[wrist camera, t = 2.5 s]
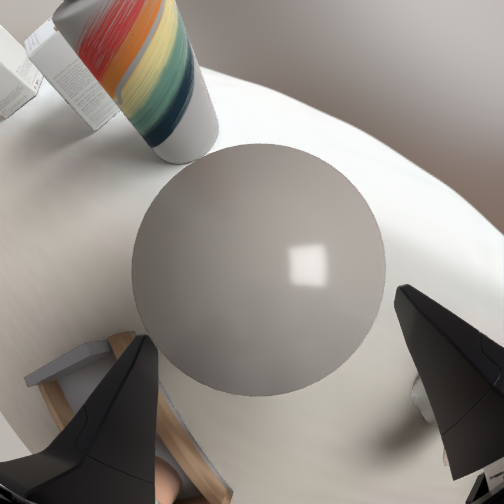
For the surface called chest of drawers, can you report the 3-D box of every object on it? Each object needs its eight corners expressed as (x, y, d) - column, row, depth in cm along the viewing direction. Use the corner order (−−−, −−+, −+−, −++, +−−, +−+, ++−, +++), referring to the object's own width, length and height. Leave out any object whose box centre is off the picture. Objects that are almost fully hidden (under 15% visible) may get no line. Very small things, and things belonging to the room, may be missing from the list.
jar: (194, 493, 15) (175, 529, 11) (148, 500, 15) (123, 530, 11) (159, 446, 16) (130, 477, 12) (115, 456, 16) (82, 481, 12)
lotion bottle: (144, 135, 22) (12, -41, 2) (199, 99, 22) (115, -101, 2) (172, 179, 21) (-4, -38, 1) (233, 138, 21) (150, -120, 1)
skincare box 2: (80, 108, 24) (19, 43, 12) (110, 81, 24) (58, 10, 12) (96, 134, 23) (22, 60, 11) (131, 104, 23) (69, 19, 11)
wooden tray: (233, 491, 16) (221, 529, 11) (136, 507, 16) (113, 534, 11) (134, 331, 19) (94, 336, 14) (53, 373, 19) (15, 381, 14)
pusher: (121, 348, 18) (90, 355, 14) (57, 379, 18) (27, 387, 14) (116, 338, 18) (85, 343, 14) (53, 371, 18) (23, 377, 14)
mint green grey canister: (328, 306, 18) (426, 309, 5) (255, 347, 18) (203, 432, 5) (287, 234, 19) (298, 110, 6) (216, 274, 19) (103, 219, 6)
